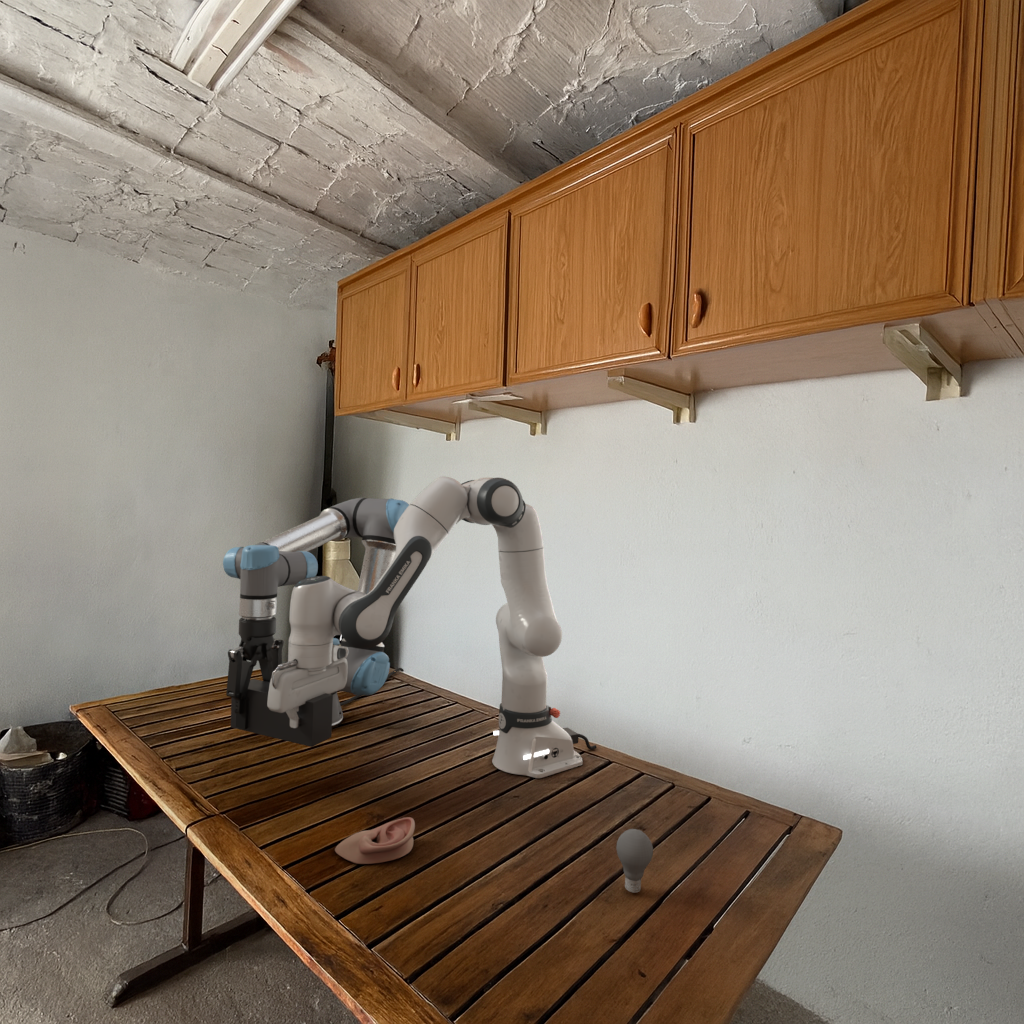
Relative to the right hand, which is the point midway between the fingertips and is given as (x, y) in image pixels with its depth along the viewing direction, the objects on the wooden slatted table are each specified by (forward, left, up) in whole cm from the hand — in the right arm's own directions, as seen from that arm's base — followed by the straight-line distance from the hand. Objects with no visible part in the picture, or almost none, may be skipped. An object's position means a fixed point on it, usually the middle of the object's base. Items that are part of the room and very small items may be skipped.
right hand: (308, 721), depth 132 cm
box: (+5, -6, -4) cm, 8 cm away
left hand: (+9, -11, -3) cm, 15 cm away
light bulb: (-44, +52, -17) cm, 71 cm away
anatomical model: (-8, +23, -17) cm, 30 cm away
